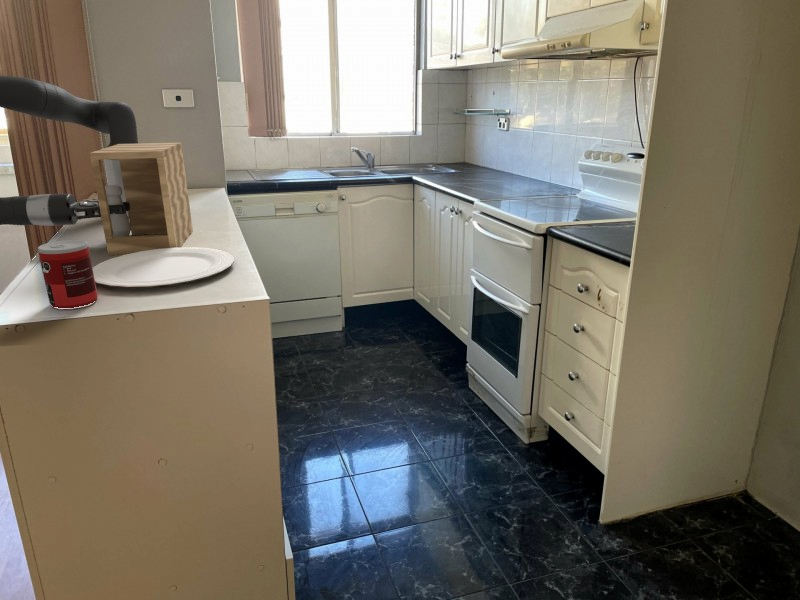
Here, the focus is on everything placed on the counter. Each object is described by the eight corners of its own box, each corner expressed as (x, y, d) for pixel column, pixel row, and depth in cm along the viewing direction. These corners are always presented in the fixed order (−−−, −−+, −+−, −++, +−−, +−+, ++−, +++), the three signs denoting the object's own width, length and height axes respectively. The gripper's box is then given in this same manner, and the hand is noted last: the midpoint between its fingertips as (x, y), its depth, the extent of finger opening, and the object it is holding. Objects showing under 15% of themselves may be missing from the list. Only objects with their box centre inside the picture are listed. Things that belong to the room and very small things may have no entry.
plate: (240, 251, 144) (239, 243, 143) (228, 289, 117) (227, 280, 116) (111, 258, 139) (109, 250, 138) (68, 300, 112) (66, 290, 111)
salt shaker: (122, 241, 147) (114, 187, 143) (102, 239, 148) (93, 187, 144) (137, 235, 152) (129, 184, 148) (117, 234, 153) (108, 183, 149)
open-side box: (133, 233, 161) (118, 144, 153) (192, 231, 163) (181, 142, 155) (108, 255, 140) (89, 152, 133) (177, 252, 143) (162, 151, 135)
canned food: (61, 297, 113) (49, 240, 109) (105, 295, 113) (94, 238, 110) (42, 311, 105) (28, 251, 102) (88, 309, 106) (76, 249, 102)
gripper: (37, 199, 138) (117, 197, 140) (60, 189, 151) (132, 187, 153) (44, 231, 140) (122, 228, 143) (66, 219, 153) (137, 216, 156)
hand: (127, 207), depth 148 cm, fingers closed on salt shaker, 3 cm apart
